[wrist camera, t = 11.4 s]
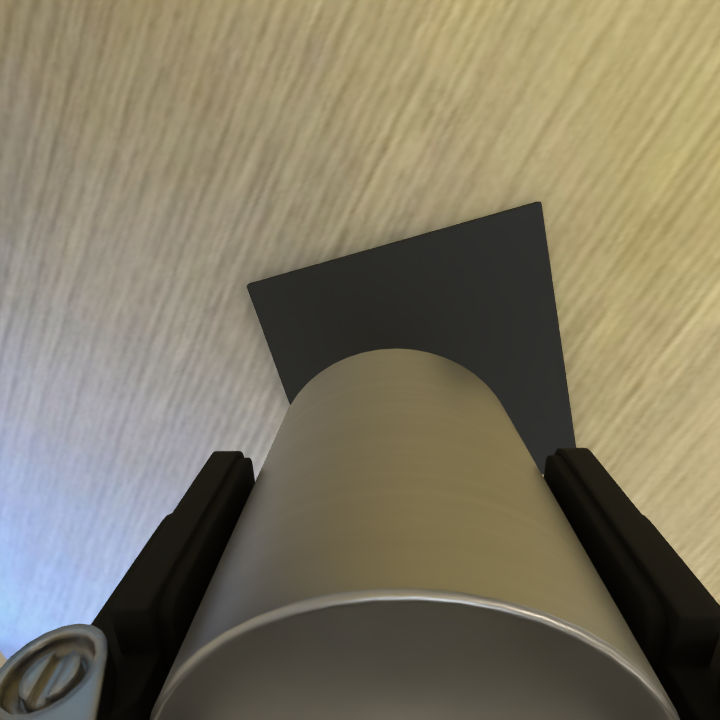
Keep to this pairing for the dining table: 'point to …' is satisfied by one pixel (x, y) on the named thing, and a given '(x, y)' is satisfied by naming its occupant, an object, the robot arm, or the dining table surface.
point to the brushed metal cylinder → (406, 571)
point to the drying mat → (436, 315)
